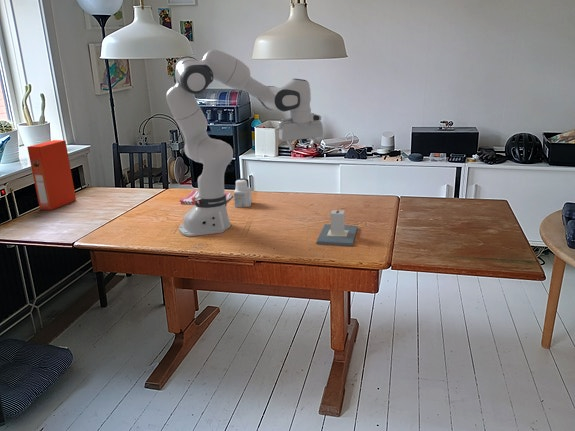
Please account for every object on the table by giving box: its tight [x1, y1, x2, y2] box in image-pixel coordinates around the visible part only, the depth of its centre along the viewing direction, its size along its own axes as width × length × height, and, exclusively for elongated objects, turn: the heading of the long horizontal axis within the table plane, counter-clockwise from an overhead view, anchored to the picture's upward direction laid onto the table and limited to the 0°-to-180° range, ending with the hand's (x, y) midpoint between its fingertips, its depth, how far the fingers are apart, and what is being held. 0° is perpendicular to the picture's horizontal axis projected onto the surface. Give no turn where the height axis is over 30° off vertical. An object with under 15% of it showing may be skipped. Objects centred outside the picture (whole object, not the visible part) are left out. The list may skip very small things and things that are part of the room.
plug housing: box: [330, 209, 346, 235], centre depth 206 cm, size 4×5×9 cm
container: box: [233, 177, 253, 208], centre depth 251 cm, size 8×8×13 cm
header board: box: [316, 223, 358, 247], centre depth 207 cm, size 20×14×4 cm
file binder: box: [26, 139, 77, 211], centre depth 257 cm, size 8×17×32 cm, turn 161°
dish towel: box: [179, 189, 234, 206], centre depth 262 cm, size 17×23×4 cm
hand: (301, 149), depth 224 cm, fingers open, 8 cm apart
